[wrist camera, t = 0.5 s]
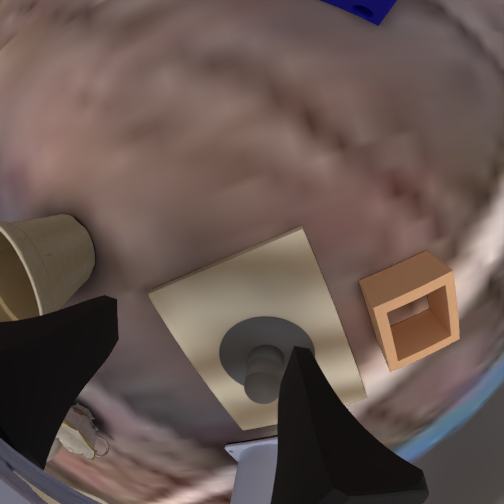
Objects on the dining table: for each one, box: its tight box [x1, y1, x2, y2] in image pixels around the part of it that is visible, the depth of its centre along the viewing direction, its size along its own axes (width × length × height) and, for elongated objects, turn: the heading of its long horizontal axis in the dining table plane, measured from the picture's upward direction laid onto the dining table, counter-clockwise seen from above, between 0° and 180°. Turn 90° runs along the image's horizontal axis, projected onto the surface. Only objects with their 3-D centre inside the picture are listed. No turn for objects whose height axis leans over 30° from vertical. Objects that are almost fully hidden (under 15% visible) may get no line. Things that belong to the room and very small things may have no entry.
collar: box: [359, 250, 460, 372], centre depth 17 cm, size 6×6×4 cm
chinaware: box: [46, 403, 109, 462], centre depth 23 cm, size 28×17×17 cm, turn 70°
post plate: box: [147, 225, 367, 430], centre depth 19 cm, size 16×12×6 cm
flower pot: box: [0, 214, 95, 322], centre depth 17 cm, size 9×9×9 cm
